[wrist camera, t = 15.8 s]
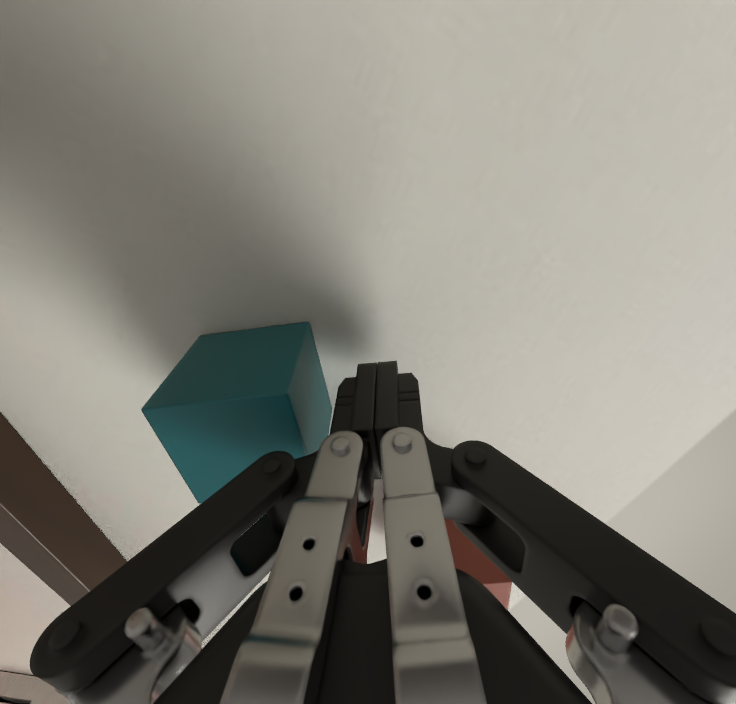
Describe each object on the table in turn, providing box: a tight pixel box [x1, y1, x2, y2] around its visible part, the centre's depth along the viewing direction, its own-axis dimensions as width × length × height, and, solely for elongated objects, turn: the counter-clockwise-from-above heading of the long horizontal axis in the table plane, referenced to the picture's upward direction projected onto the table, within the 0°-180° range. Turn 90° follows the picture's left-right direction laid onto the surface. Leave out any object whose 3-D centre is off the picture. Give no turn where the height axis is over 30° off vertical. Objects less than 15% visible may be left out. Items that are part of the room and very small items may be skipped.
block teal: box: [141, 322, 332, 503], centre depth 14 cm, size 4×4×4 cm
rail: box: [0, 413, 127, 606], centre depth 21 cm, size 2×44×2 cm, turn 7°
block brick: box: [444, 518, 512, 610], centre depth 19 cm, size 4×4×4 cm
